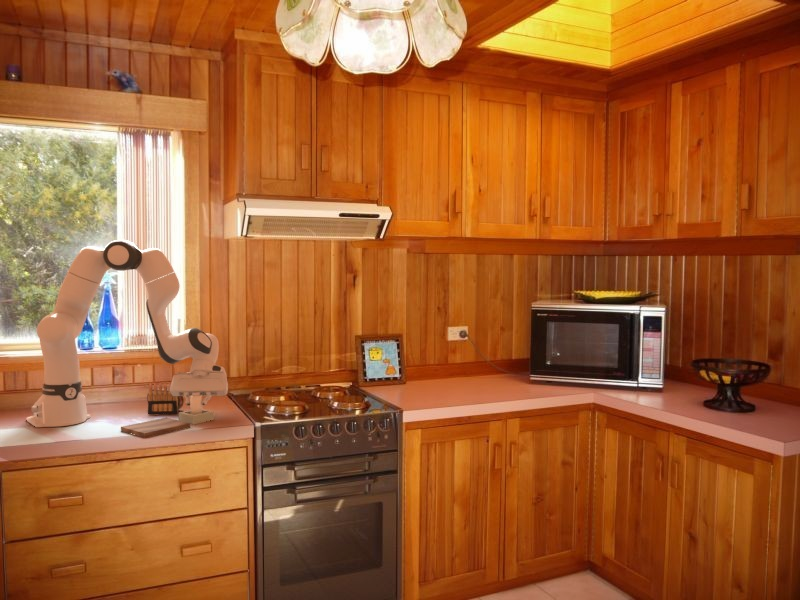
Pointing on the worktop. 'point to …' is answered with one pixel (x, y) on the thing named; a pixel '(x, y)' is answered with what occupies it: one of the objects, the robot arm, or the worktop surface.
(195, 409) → the pepper mill
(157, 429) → the cutting board
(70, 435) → the worktop surface
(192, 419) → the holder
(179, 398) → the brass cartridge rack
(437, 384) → the worktop surface
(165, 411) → the ammunition clip
